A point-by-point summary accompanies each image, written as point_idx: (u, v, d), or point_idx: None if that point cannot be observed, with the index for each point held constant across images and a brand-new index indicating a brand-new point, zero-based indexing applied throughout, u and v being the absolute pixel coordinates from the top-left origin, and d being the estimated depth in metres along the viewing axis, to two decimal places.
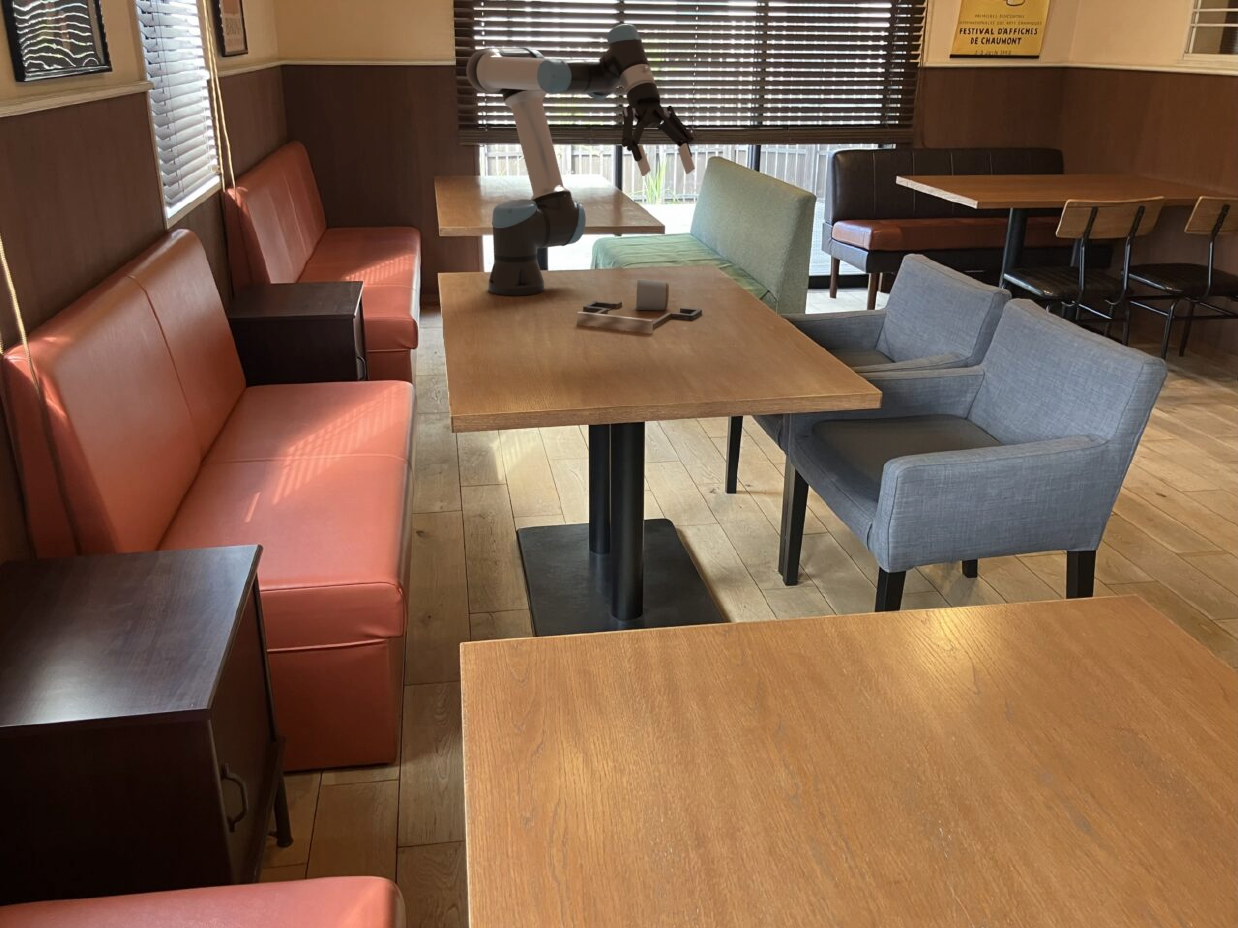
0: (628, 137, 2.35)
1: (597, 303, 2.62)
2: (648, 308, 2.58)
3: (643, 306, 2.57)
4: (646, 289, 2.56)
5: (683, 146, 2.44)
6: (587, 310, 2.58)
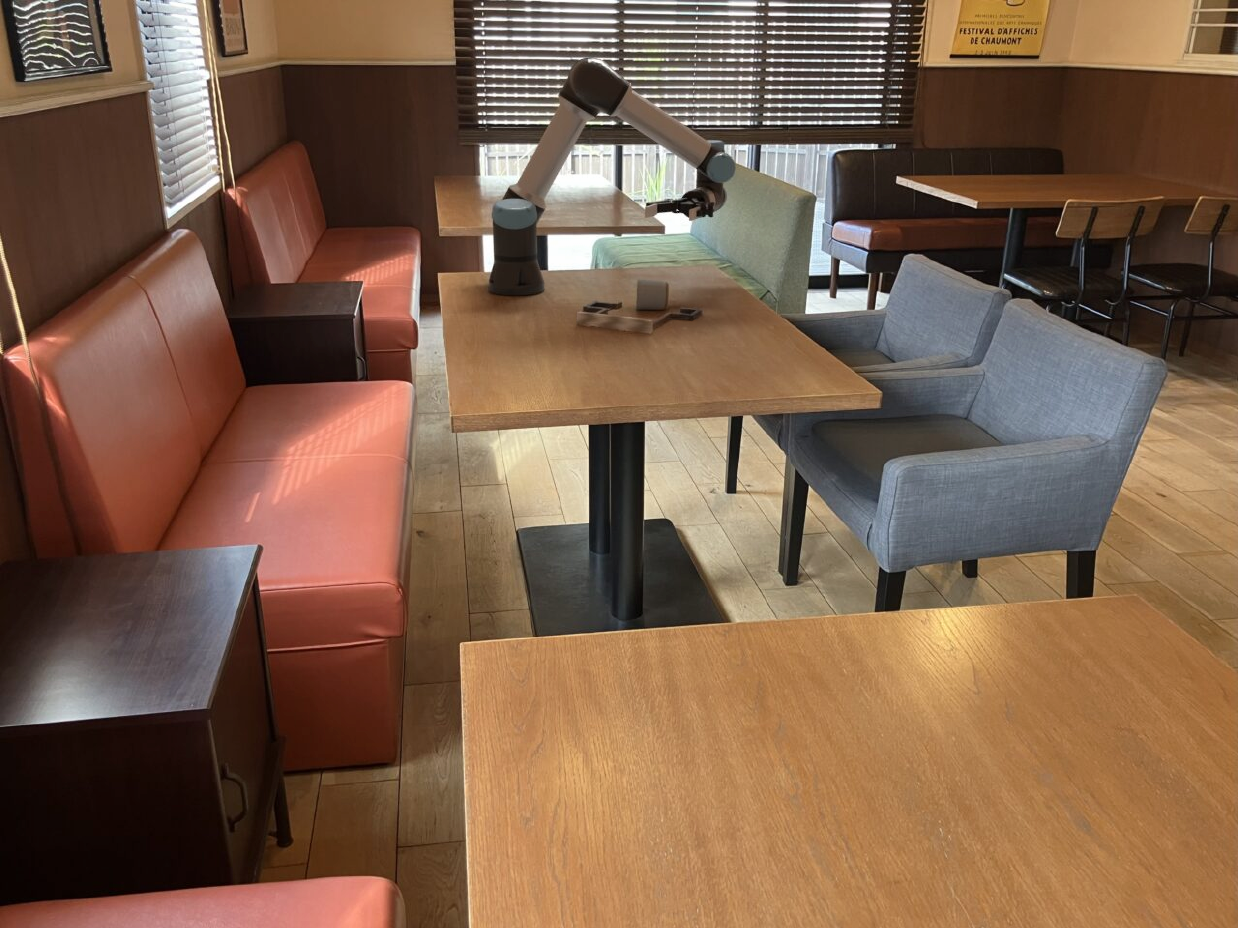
0: None
1: (597, 303, 2.62)
2: (648, 308, 2.59)
3: (643, 306, 2.58)
4: (646, 289, 2.56)
5: (656, 212, 2.70)
6: (587, 310, 2.58)
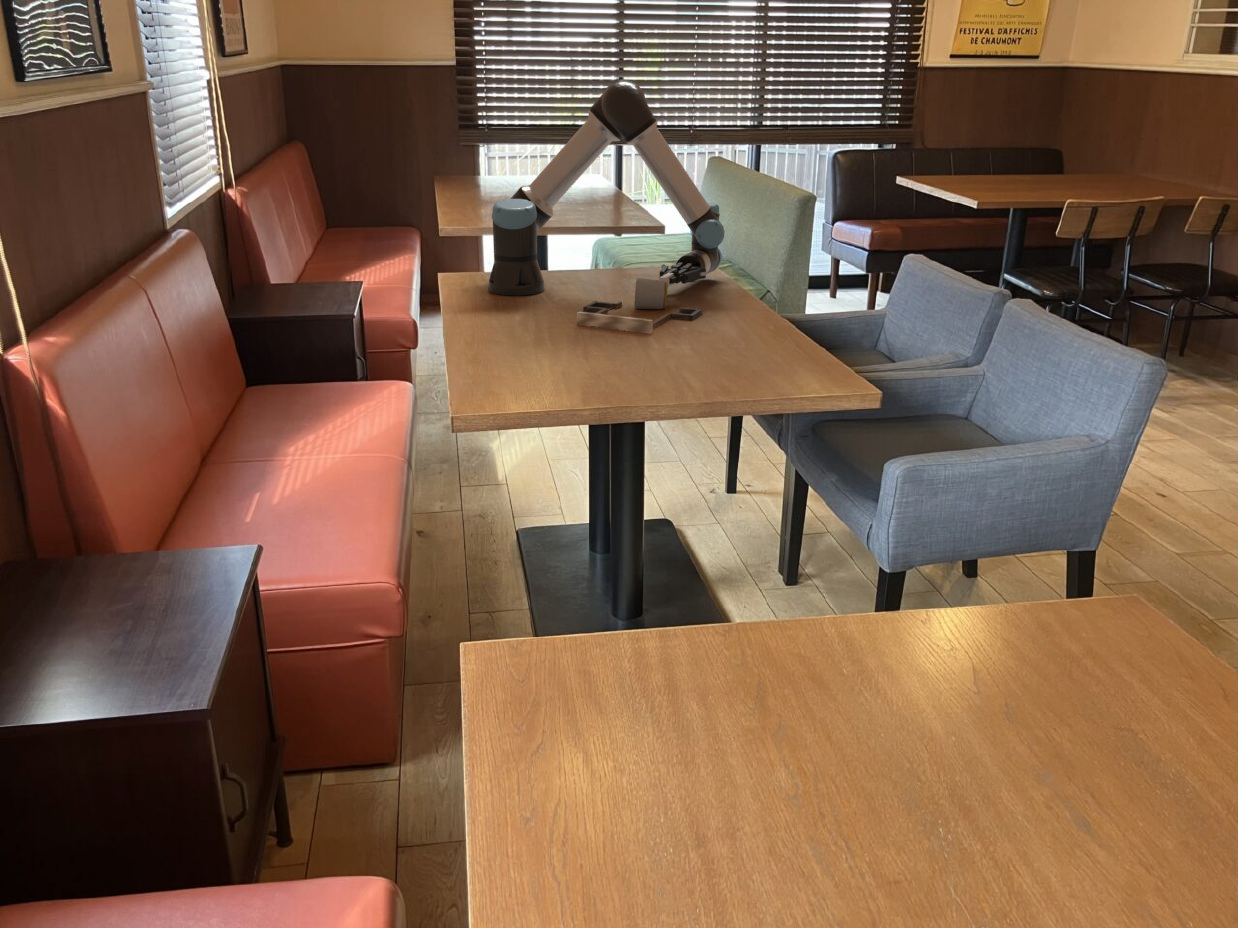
0: None
1: (597, 303, 2.62)
2: (646, 307, 2.59)
3: (641, 305, 2.58)
4: (644, 288, 2.56)
5: None
6: (587, 310, 2.58)
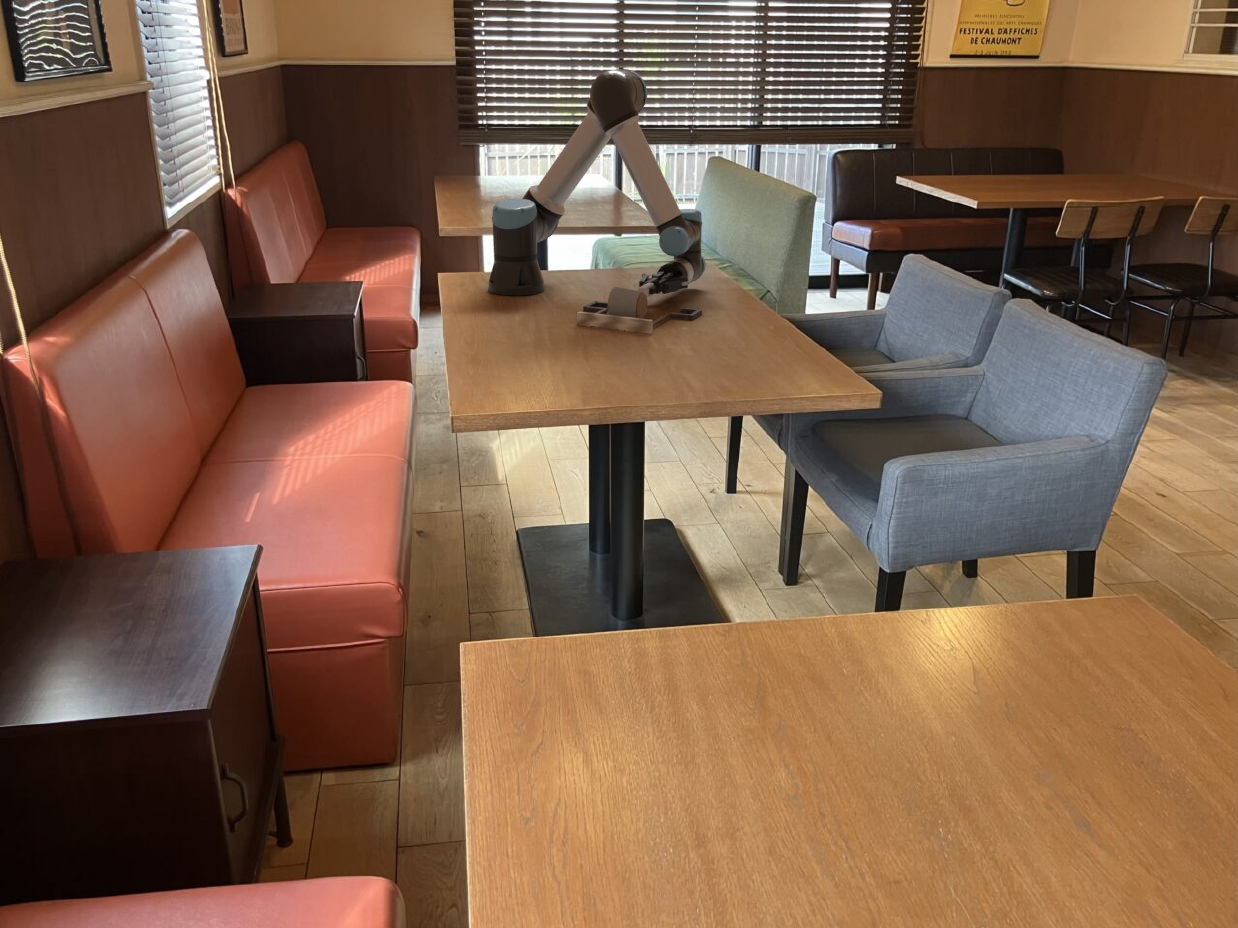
0: None
1: (597, 303, 2.62)
2: None
3: (615, 315, 2.48)
4: (617, 298, 2.46)
5: None
6: (587, 310, 2.58)
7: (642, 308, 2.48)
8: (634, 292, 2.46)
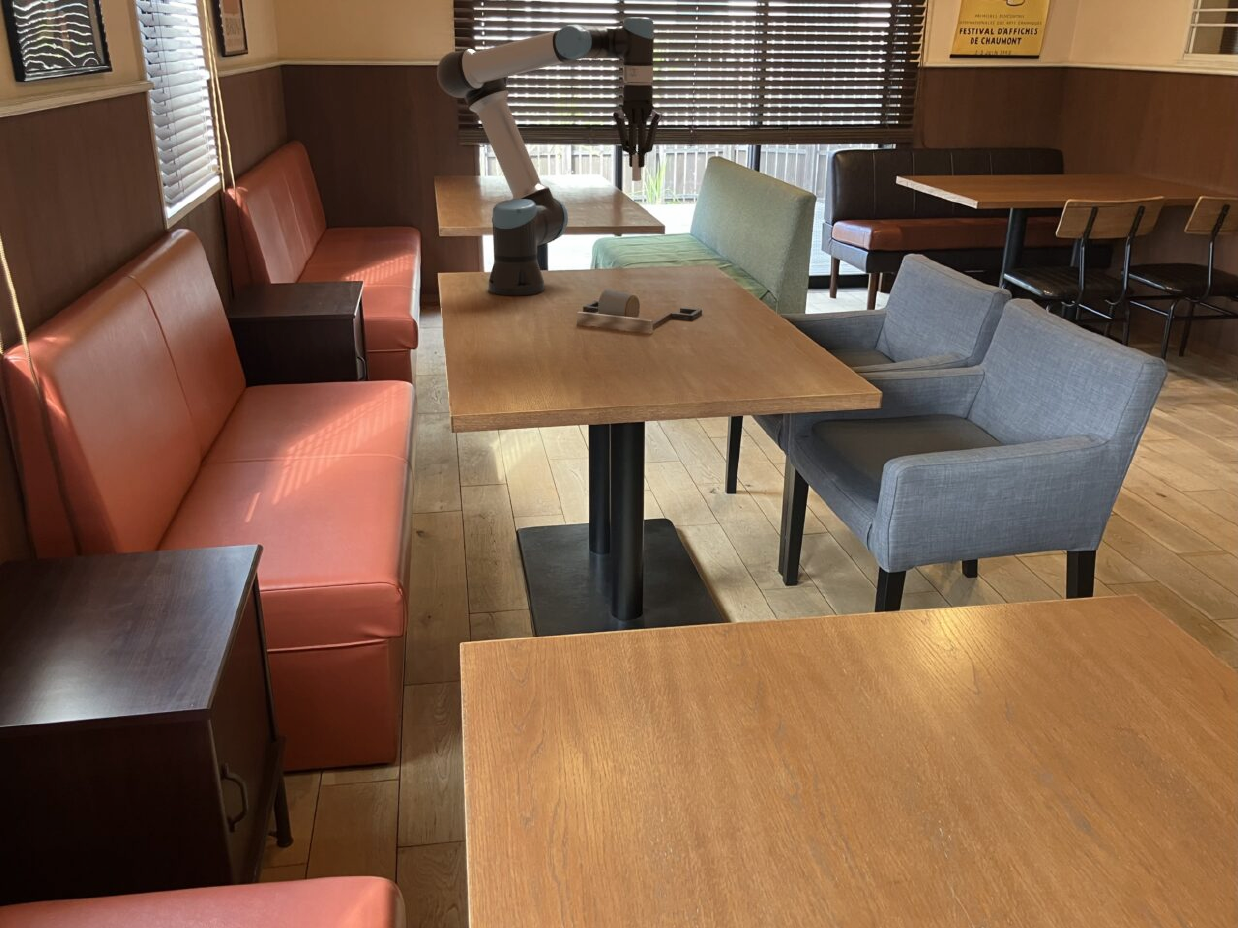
0: (622, 147, 2.66)
1: (597, 303, 2.62)
2: None
3: None
4: (607, 299, 2.45)
5: None
6: (587, 310, 2.58)
7: (633, 311, 2.46)
8: (625, 294, 2.44)
